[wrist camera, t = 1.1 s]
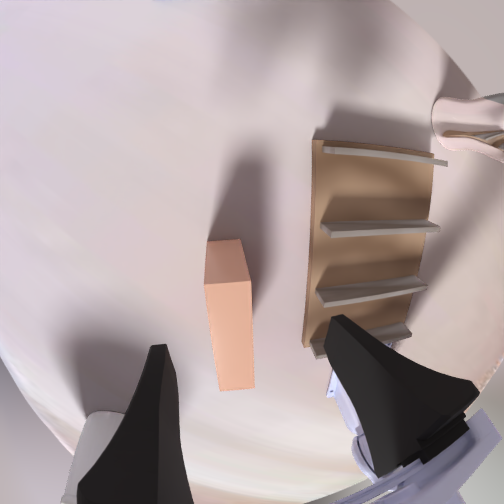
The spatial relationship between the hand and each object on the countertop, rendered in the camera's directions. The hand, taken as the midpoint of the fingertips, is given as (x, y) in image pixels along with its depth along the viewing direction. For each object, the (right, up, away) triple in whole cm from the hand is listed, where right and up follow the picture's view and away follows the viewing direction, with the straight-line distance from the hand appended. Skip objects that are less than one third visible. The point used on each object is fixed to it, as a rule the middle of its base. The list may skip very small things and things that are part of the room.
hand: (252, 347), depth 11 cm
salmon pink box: (-2, 0, +14) cm, 14 cm away
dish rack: (+12, +4, +14) cm, 19 cm away
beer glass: (+21, +18, +10) cm, 29 cm away
